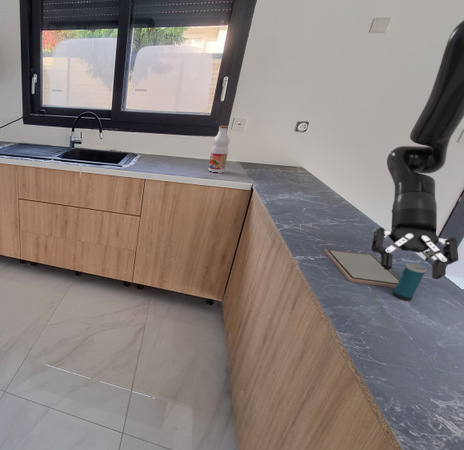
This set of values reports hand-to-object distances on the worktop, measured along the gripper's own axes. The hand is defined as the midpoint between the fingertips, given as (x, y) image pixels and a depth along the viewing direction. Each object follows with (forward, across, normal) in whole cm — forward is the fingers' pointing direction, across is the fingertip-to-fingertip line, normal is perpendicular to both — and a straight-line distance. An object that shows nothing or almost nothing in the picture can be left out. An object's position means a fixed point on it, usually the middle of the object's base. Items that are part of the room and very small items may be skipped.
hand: (411, 273), depth 74 cm
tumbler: (+5, 0, +4) cm, 7 cm away
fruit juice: (-81, -55, +90) cm, 133 cm away
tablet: (-4, -5, +13) cm, 15 cm away
